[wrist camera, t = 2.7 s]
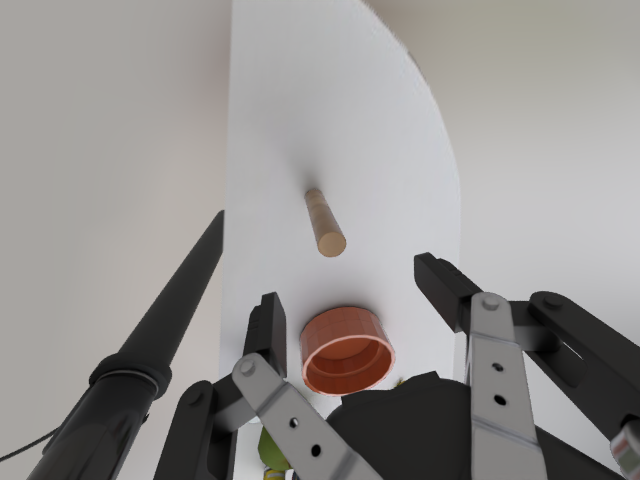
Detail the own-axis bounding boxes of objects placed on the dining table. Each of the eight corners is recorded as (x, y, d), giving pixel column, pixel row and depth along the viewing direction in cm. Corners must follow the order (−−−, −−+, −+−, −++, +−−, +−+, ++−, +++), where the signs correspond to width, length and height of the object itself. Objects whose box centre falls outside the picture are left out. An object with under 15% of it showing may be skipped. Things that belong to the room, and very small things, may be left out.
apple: (296, 381, 44) (299, 446, 35) (323, 404, 49) (332, 466, 40) (250, 405, 45) (241, 473, 37) (280, 424, 50) (280, 488, 42)
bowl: (310, 370, 43) (314, 405, 38) (289, 317, 36) (290, 351, 31) (383, 350, 43) (397, 382, 38) (376, 294, 37) (392, 323, 31)
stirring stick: (307, 208, 28) (321, 260, 18) (303, 191, 27) (314, 236, 17) (324, 204, 29) (348, 253, 18) (321, 187, 28) (343, 228, 17)
